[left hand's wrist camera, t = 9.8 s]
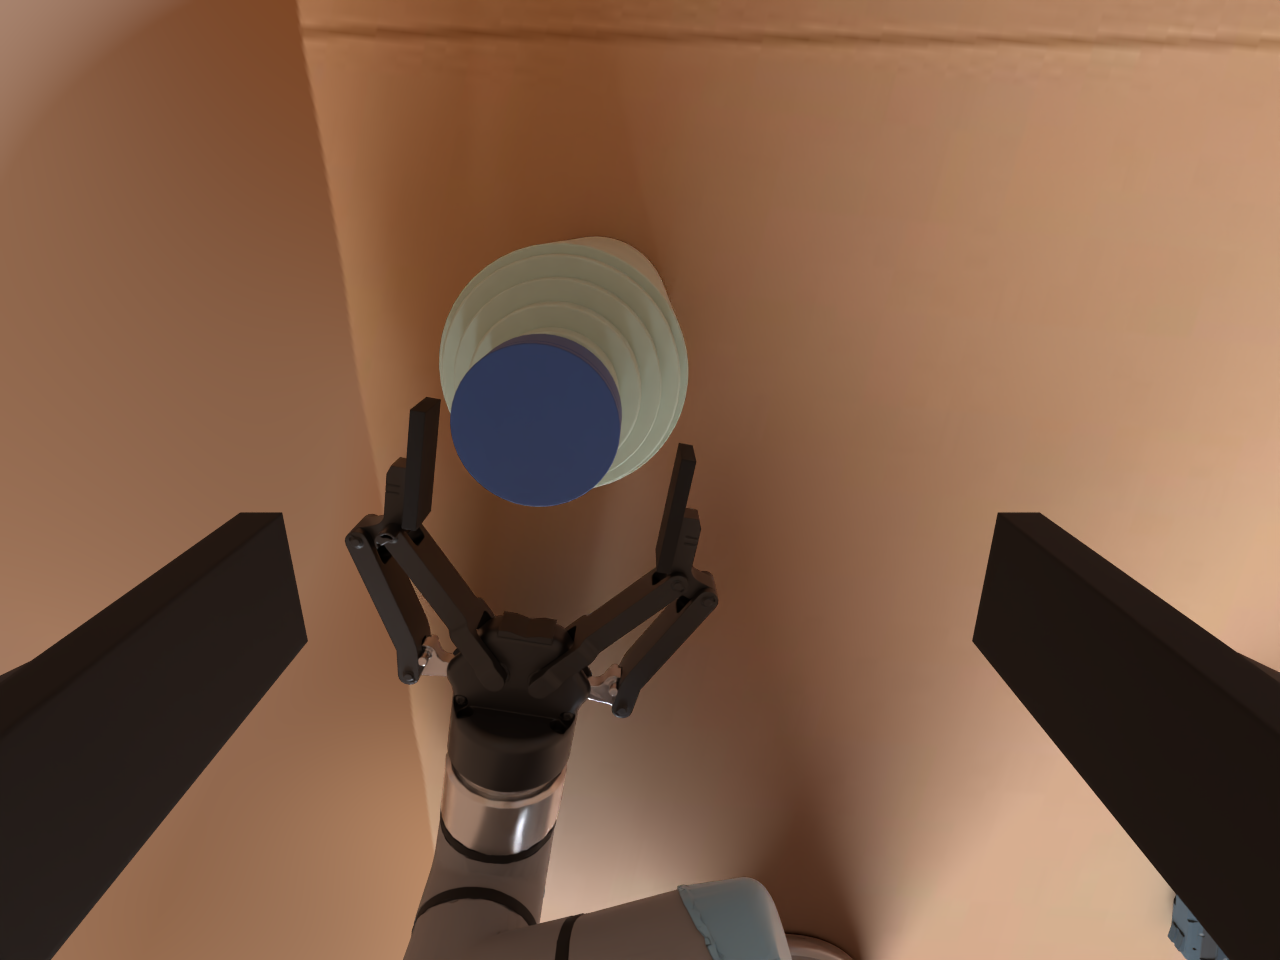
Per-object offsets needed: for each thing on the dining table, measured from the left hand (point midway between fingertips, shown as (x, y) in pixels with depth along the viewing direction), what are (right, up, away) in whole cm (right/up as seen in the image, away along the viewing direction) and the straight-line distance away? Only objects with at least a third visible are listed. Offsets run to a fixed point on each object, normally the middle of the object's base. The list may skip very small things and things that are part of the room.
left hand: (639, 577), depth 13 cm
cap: (-2, +3, +4) cm, 6 cm away
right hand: (-4, +5, +22) cm, 23 cm away
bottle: (-2, +12, +26) cm, 29 cm away
